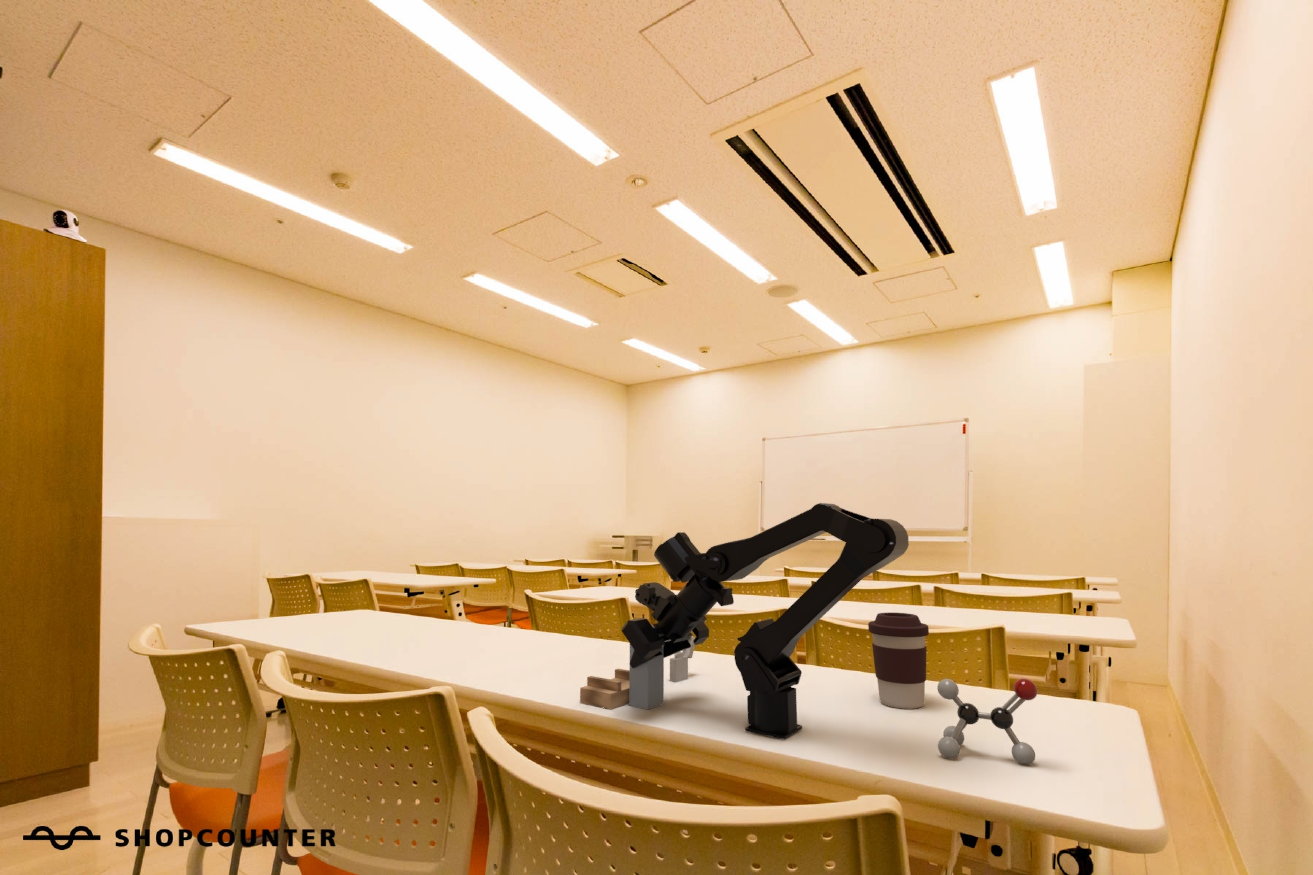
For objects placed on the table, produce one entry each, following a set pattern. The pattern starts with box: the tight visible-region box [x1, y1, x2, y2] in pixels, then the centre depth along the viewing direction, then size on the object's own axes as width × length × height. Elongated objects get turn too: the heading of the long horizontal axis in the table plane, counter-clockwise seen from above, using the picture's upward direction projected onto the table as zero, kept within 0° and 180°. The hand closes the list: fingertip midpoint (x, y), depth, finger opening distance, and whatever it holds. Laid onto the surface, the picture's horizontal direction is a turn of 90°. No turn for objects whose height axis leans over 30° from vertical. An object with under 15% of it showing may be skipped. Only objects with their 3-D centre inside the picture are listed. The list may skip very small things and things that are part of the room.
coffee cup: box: [867, 612, 930, 710], centre depth 111 cm, size 10×10×15 cm
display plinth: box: [579, 668, 630, 710], centre depth 113 cm, size 7×12×4 cm, turn 143°
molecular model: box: [937, 678, 1038, 766], centre depth 85 cm, size 8×12×11 cm
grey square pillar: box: [628, 643, 665, 710], centre depth 110 cm, size 4×4×13 cm
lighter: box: [669, 635, 696, 683], centre depth 129 cm, size 7×2×8 cm, turn 141°
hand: (640, 663), depth 111 cm, fingers closed on grey square pillar, 4 cm apart
